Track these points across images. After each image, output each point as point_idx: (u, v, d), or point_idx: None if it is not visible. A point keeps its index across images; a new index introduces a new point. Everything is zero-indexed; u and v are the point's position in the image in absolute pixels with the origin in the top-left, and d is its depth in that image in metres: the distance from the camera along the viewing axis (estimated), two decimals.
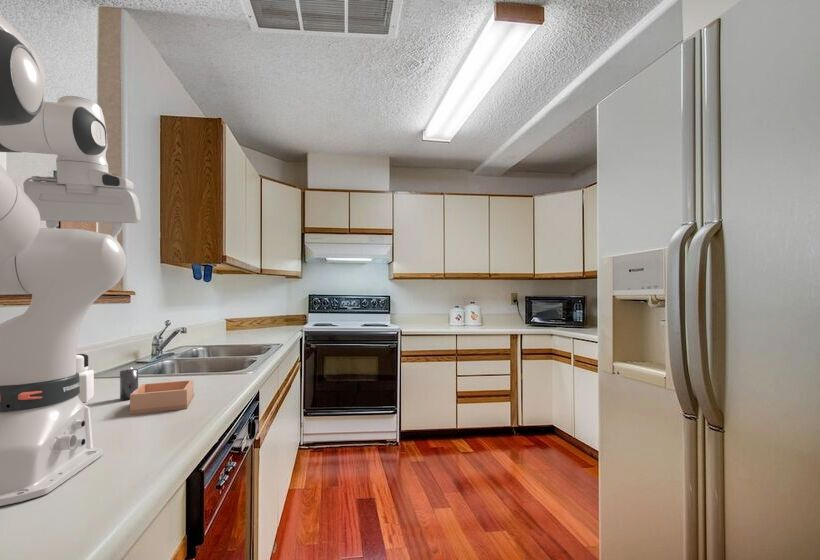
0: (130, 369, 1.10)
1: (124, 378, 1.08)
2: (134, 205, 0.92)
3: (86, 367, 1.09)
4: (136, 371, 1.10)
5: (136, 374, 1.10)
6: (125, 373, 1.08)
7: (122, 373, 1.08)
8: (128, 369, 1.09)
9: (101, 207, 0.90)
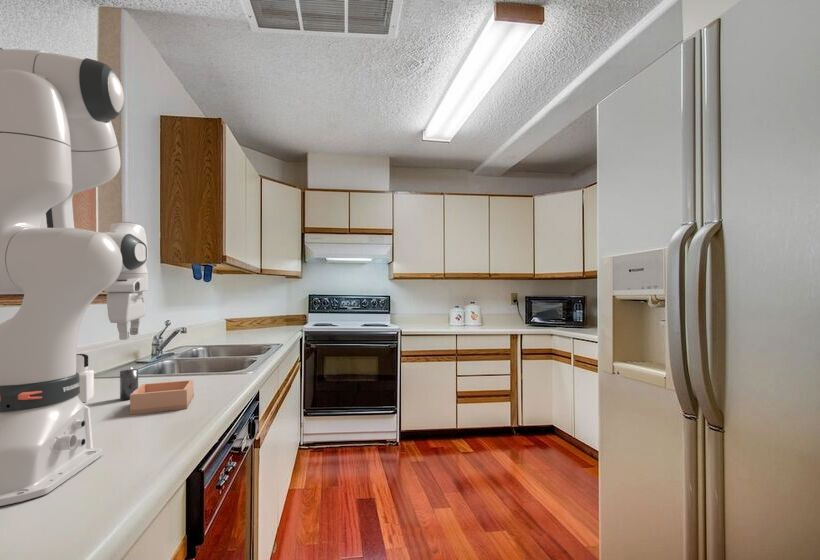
0: (130, 369, 1.10)
1: (124, 378, 1.08)
2: (108, 307, 1.01)
3: (86, 367, 1.09)
4: (136, 371, 1.10)
5: (136, 374, 1.10)
6: (125, 373, 1.08)
7: (122, 373, 1.08)
8: (128, 369, 1.09)
9: None
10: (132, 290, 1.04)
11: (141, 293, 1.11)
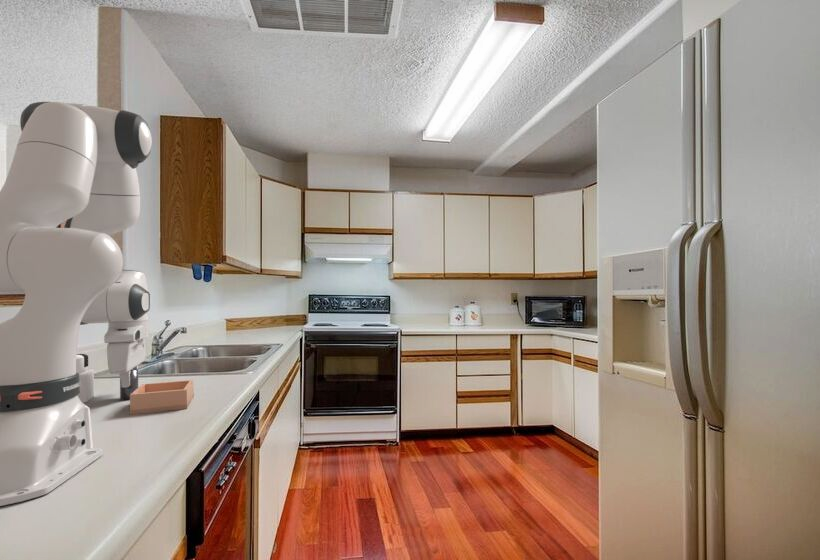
0: None
1: None
2: (108, 358, 1.01)
3: (86, 367, 1.09)
4: (136, 371, 1.10)
5: (136, 374, 1.10)
6: None
7: None
8: None
9: None
10: (132, 340, 1.03)
11: (141, 340, 1.11)
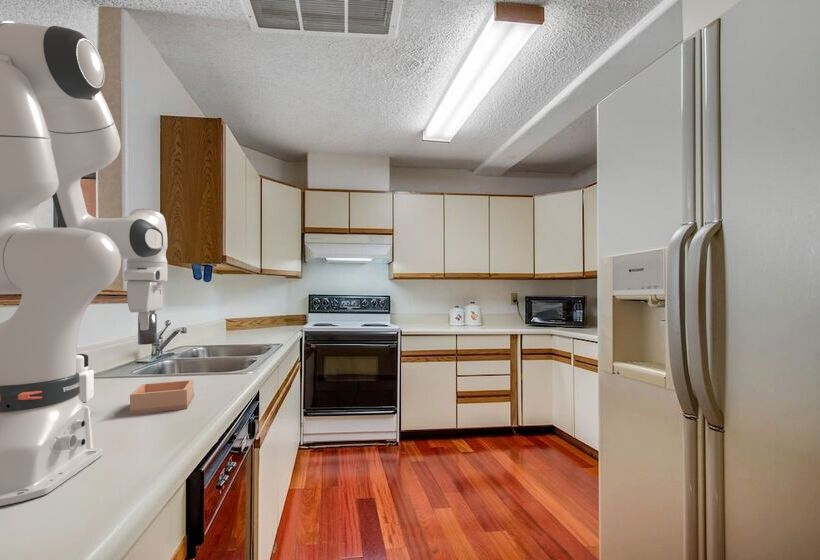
0: None
1: None
2: (128, 296, 0.96)
3: (86, 367, 1.09)
4: (155, 315, 1.06)
5: (155, 318, 1.06)
6: None
7: None
8: None
9: None
10: (153, 278, 1.00)
11: (160, 283, 1.07)
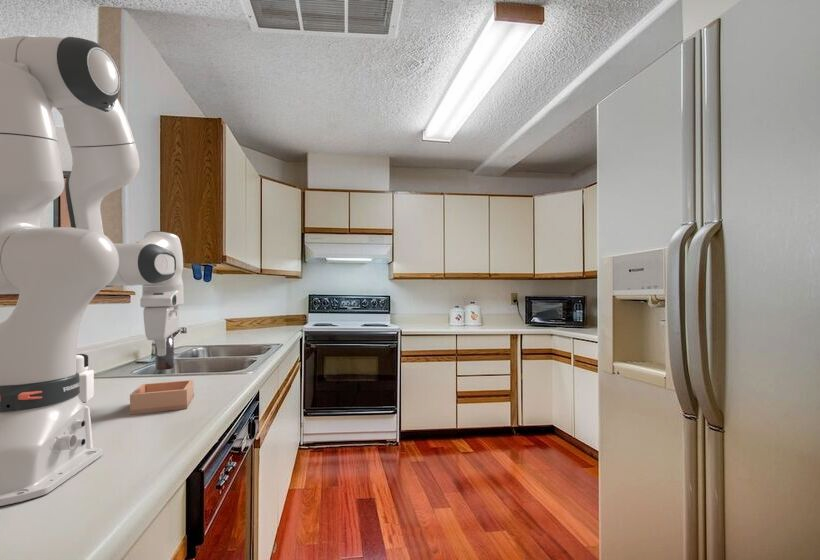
0: None
1: None
2: (145, 323, 0.94)
3: (86, 367, 1.09)
4: (172, 339, 1.04)
5: (172, 342, 1.04)
6: None
7: None
8: None
9: None
10: (170, 304, 0.97)
11: (177, 307, 1.04)
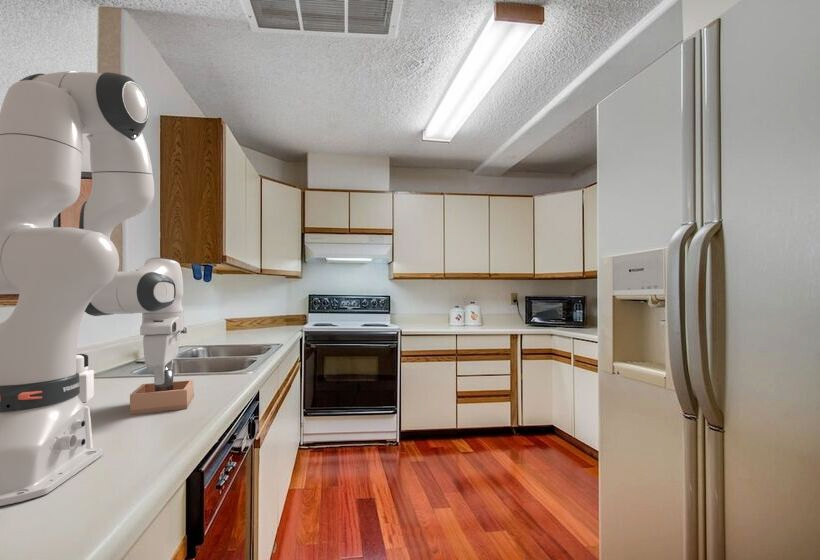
0: (165, 369, 1.03)
1: None
2: (144, 352, 0.94)
3: (86, 367, 1.09)
4: (171, 372, 1.03)
5: (171, 375, 1.03)
6: None
7: None
8: None
9: None
10: (169, 332, 0.97)
11: (176, 333, 1.04)
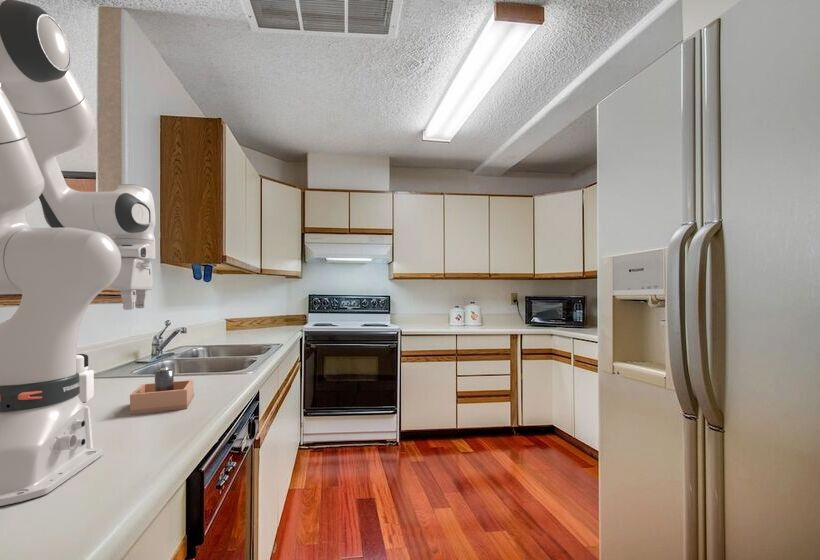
0: (165, 369, 1.03)
1: (159, 379, 1.01)
2: None
3: (86, 367, 1.09)
4: (172, 372, 1.03)
5: (172, 375, 1.03)
6: (161, 374, 1.01)
7: (157, 374, 1.01)
8: (163, 369, 1.03)
9: None
10: (137, 255, 0.96)
11: (147, 262, 1.03)
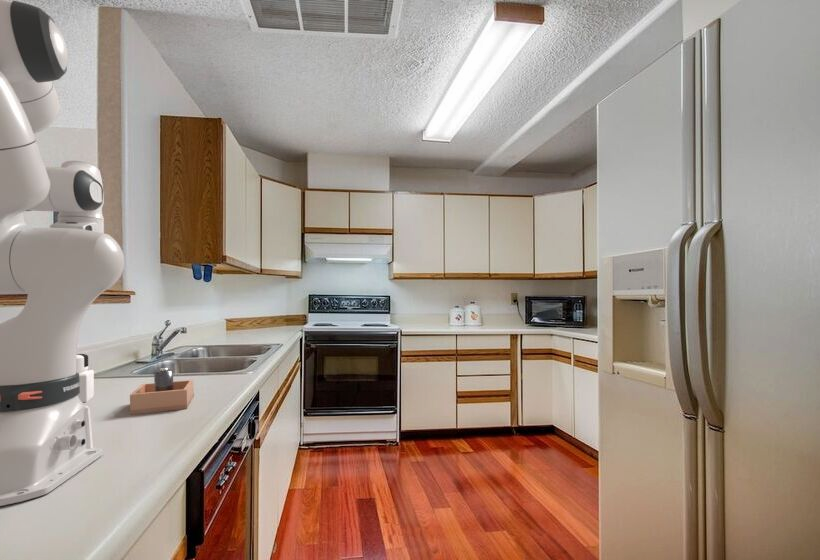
0: (165, 370, 1.03)
1: (159, 379, 1.01)
2: None
3: (86, 367, 1.09)
4: (171, 372, 1.03)
5: (171, 375, 1.03)
6: (160, 374, 1.01)
7: (157, 374, 1.01)
8: (163, 370, 1.02)
9: None
10: None
11: None
